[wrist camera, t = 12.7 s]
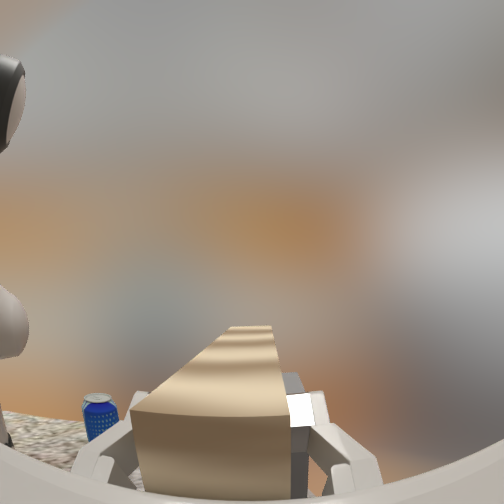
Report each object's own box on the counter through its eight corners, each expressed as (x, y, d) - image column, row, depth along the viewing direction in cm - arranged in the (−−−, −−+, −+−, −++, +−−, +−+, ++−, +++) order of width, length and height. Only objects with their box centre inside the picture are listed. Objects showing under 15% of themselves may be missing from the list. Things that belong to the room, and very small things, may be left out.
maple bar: (290, 517, 6) (290, 415, 6) (150, 508, 6) (129, 409, 7) (272, 359, 30) (270, 325, 30) (232, 360, 30) (231, 326, 30)
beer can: (121, 447, 59) (111, 390, 61) (130, 462, 52) (118, 401, 55) (90, 450, 54) (78, 392, 56) (95, 466, 47) (81, 404, 50)
